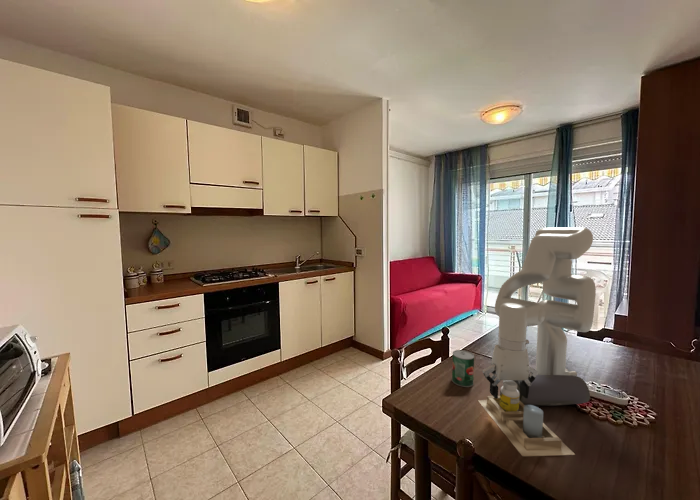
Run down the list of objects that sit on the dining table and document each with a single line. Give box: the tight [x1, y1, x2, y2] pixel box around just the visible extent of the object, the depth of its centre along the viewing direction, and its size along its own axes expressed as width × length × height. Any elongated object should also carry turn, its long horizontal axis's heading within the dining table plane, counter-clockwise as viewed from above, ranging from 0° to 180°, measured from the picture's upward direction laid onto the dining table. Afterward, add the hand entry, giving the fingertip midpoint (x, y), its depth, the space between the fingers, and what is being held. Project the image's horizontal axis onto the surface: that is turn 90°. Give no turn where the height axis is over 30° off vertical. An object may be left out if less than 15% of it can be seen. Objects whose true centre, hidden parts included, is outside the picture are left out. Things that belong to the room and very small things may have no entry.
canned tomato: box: [451, 349, 475, 388], centre depth 111 cm, size 8×8×11 cm
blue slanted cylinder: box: [523, 405, 544, 438], centre depth 80 cm, size 5×5×8 cm
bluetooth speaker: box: [513, 375, 591, 407], centre depth 96 cm, size 23×9×10 cm, turn 93°
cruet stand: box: [477, 395, 576, 457], centre depth 85 cm, size 24×14×4 cm, turn 2°
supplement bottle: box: [499, 380, 520, 412], centre depth 91 cm, size 5×5×10 cm
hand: (508, 395), depth 90 cm, fingers open, 9 cm apart
